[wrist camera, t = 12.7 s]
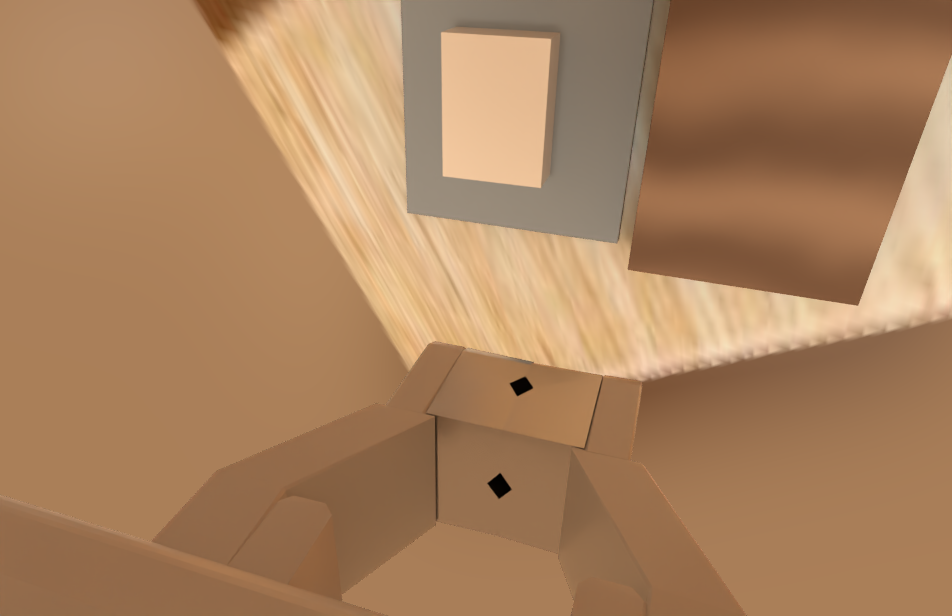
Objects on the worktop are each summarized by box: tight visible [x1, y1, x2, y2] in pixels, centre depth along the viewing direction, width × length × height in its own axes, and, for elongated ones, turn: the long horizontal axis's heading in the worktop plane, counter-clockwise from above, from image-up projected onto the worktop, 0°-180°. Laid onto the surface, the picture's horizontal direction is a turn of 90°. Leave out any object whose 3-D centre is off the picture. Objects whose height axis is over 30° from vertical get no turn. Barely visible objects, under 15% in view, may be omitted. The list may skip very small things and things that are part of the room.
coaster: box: [441, 27, 560, 188], centre depth 37 cm, size 8×6×2 cm
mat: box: [401, 0, 654, 243], centre depth 38 cm, size 15×14×1 cm
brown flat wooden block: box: [628, 0, 952, 306], centre depth 33 cm, size 16×12×4 cm
